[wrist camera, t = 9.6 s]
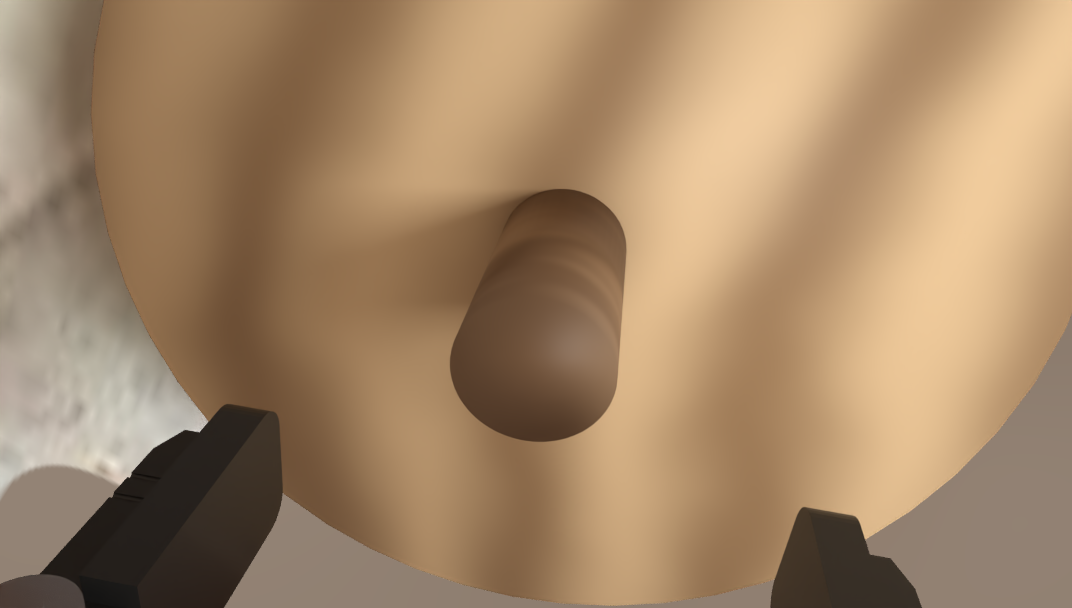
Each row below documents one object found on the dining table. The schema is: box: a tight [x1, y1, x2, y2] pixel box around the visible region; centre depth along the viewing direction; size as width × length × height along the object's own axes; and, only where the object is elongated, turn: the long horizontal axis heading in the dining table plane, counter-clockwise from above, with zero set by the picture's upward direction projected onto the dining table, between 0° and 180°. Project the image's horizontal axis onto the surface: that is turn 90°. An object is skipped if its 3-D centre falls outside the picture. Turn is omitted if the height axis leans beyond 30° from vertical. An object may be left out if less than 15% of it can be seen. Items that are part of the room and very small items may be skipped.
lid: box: [91, 0, 1072, 606], centre depth 18 cm, size 25×25×7 cm
